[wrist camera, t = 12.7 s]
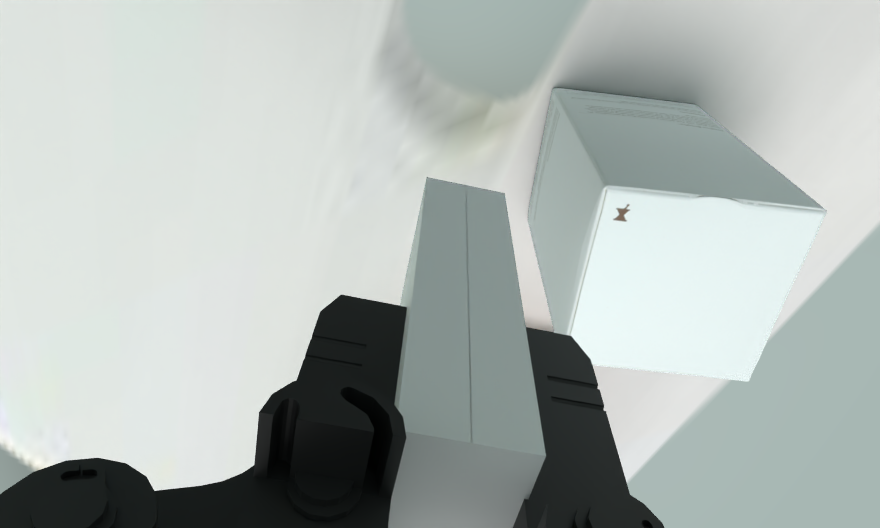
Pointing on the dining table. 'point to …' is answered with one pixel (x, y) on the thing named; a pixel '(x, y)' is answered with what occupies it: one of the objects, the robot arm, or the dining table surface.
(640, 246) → the supplement box
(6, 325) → the dining table surface
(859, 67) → the dining table surface
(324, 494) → the robot arm
